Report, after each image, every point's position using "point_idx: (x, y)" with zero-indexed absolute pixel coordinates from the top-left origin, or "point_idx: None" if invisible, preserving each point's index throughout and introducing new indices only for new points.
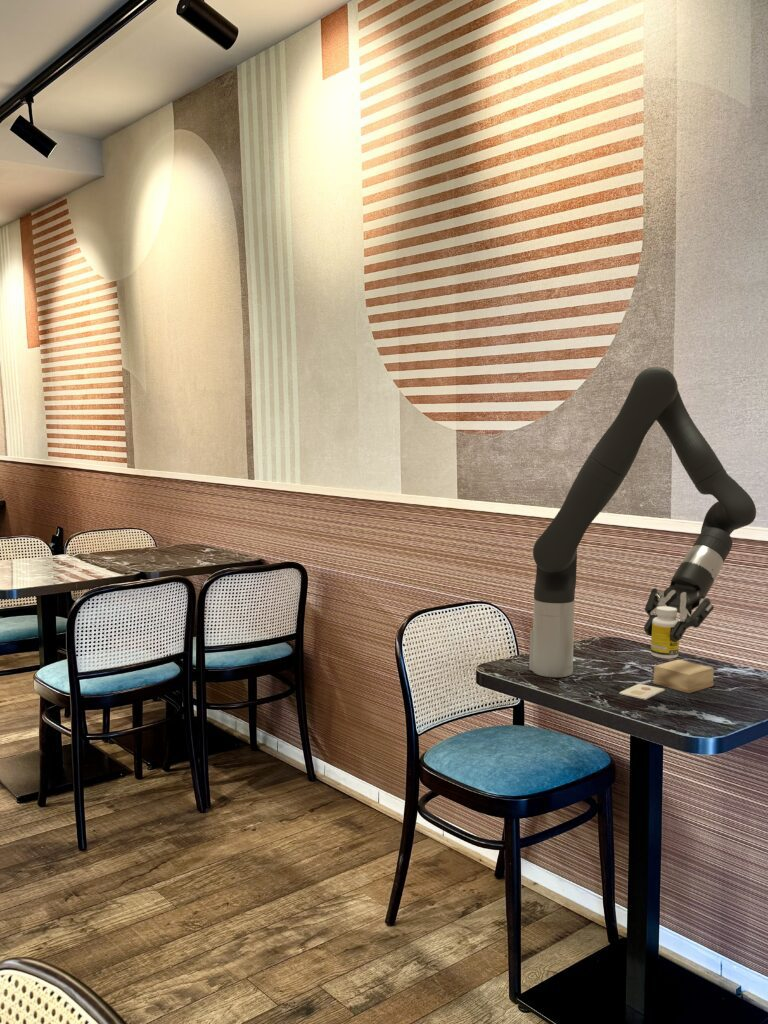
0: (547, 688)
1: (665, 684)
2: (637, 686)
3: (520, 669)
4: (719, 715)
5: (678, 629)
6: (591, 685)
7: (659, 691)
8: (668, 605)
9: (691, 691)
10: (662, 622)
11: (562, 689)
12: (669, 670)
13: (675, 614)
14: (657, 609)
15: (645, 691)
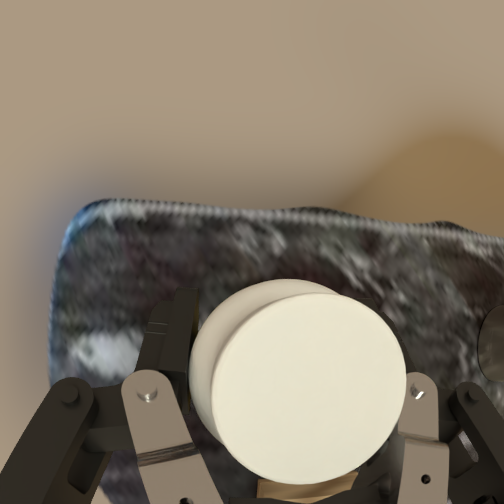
0: (455, 255)
1: None
2: None
3: None
4: (117, 384)
5: (162, 334)
6: (429, 345)
7: None
8: (365, 491)
9: (257, 487)
10: (266, 287)
11: (441, 273)
12: (328, 494)
13: (210, 389)
14: (366, 307)
15: None
